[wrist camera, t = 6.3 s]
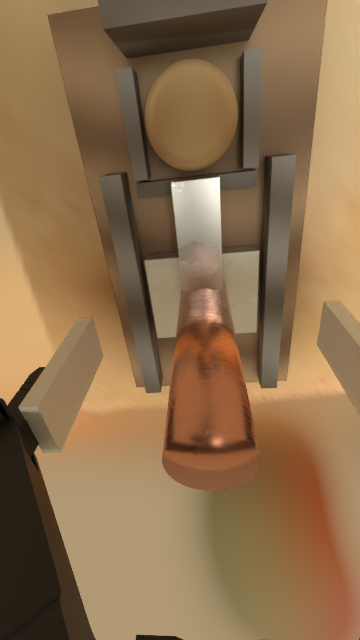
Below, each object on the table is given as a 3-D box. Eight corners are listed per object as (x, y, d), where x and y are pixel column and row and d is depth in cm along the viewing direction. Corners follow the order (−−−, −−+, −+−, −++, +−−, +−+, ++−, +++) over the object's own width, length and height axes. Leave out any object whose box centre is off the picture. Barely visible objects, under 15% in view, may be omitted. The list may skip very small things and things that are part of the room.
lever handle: (134, 181, 18) (21, 248, 6) (258, 167, 17) (384, 214, 5) (159, 329, 23) (122, 511, 11) (253, 323, 22) (313, 511, 11)
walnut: (145, 76, 15) (128, 54, 11) (232, 64, 15) (244, 36, 11) (157, 172, 17) (146, 179, 14) (232, 163, 17) (243, 169, 13)
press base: (57, 23, 15) (-8, -33, 10) (320, -21, 14) (386, -108, 9) (138, 377, 27) (126, 427, 22) (283, 371, 26) (302, 422, 21)
